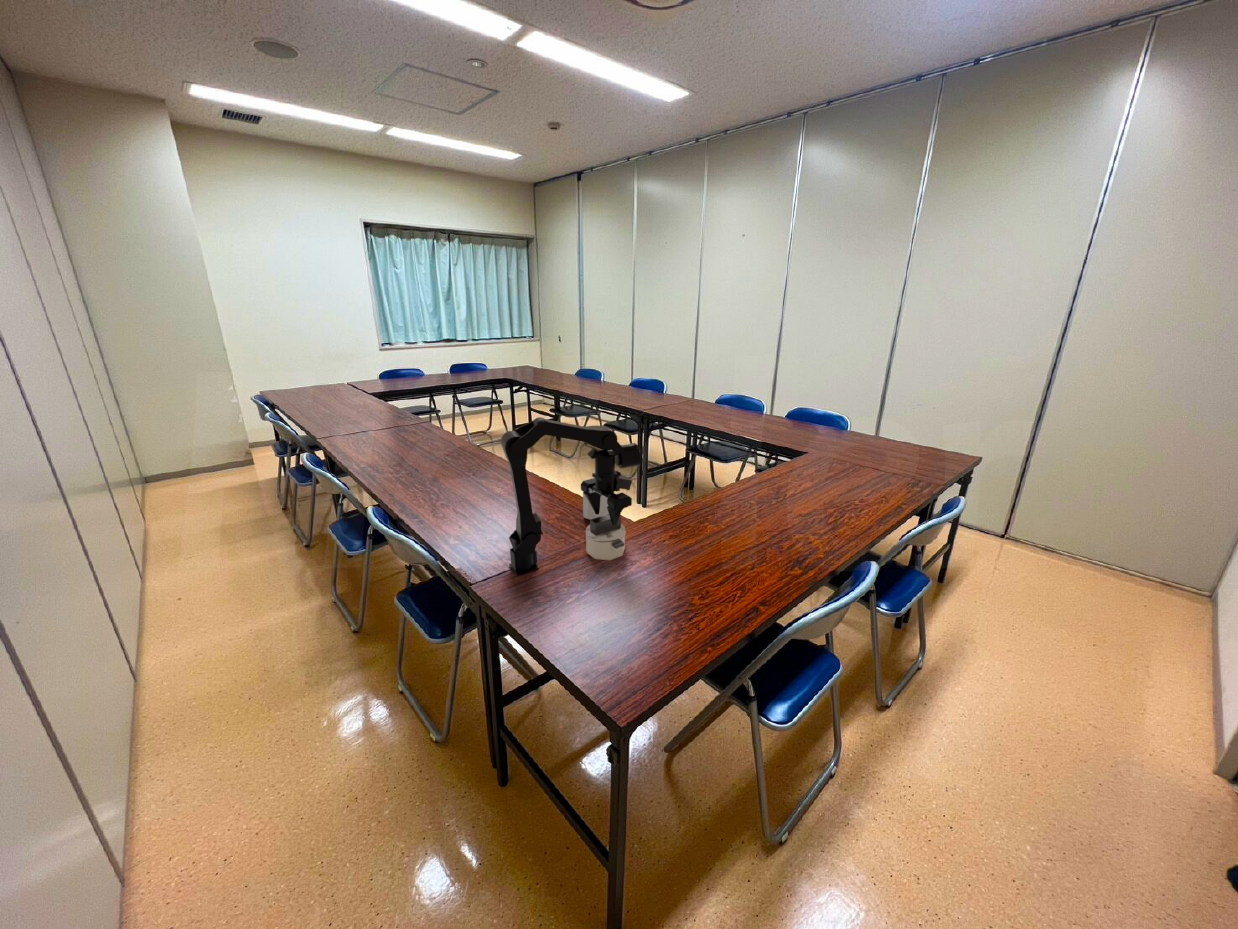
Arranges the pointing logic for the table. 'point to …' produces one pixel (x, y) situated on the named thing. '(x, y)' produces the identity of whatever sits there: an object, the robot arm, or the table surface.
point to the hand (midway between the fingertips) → (605, 519)
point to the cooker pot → (605, 549)
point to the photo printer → (588, 509)
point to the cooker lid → (605, 529)
